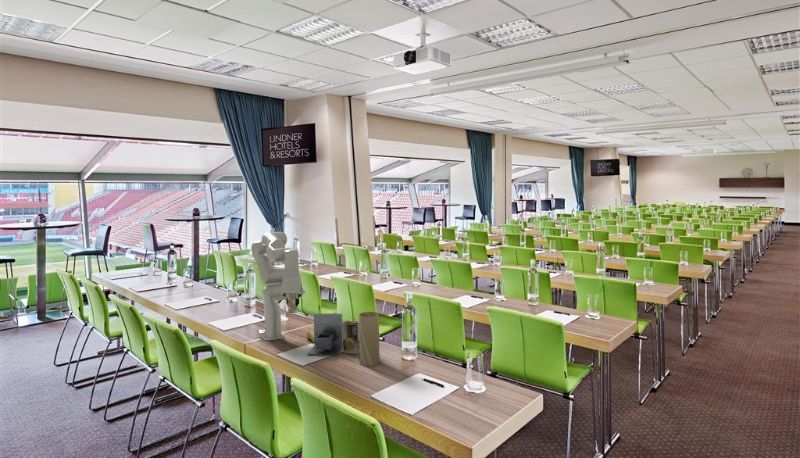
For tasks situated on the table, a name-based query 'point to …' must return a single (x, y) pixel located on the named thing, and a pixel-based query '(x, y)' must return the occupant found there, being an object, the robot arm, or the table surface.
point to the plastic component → (310, 336)
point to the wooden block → (292, 303)
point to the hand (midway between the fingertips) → (292, 305)
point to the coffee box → (351, 337)
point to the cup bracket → (327, 334)
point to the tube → (369, 338)
